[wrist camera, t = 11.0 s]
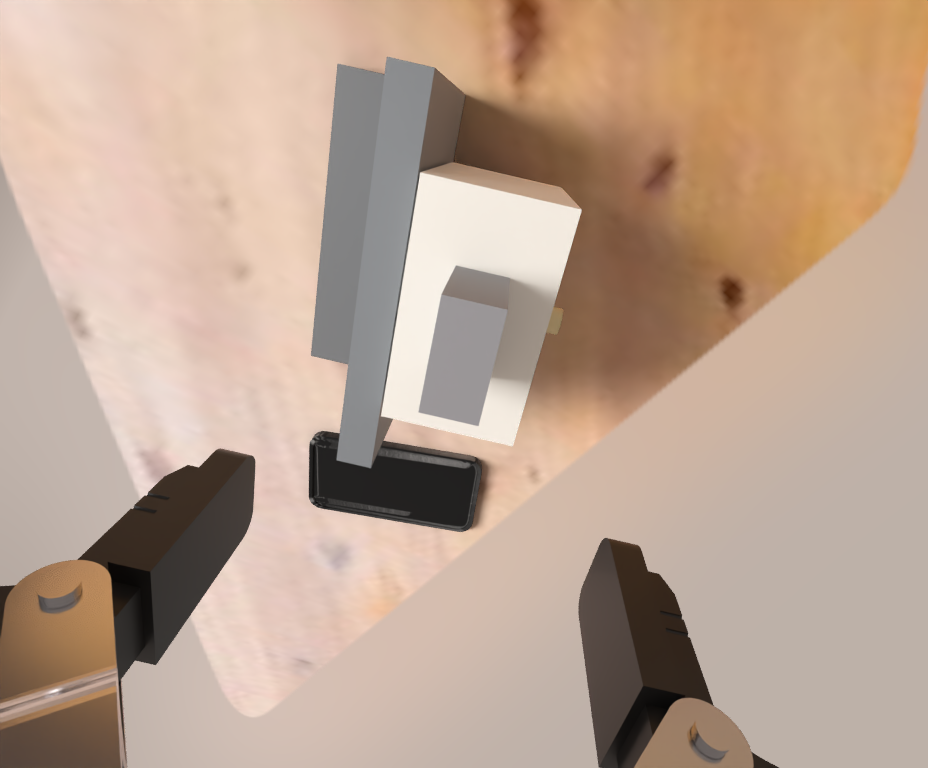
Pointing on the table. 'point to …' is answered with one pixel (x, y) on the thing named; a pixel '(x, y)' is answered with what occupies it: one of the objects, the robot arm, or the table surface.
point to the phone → (396, 484)
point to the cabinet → (477, 299)
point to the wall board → (374, 227)
